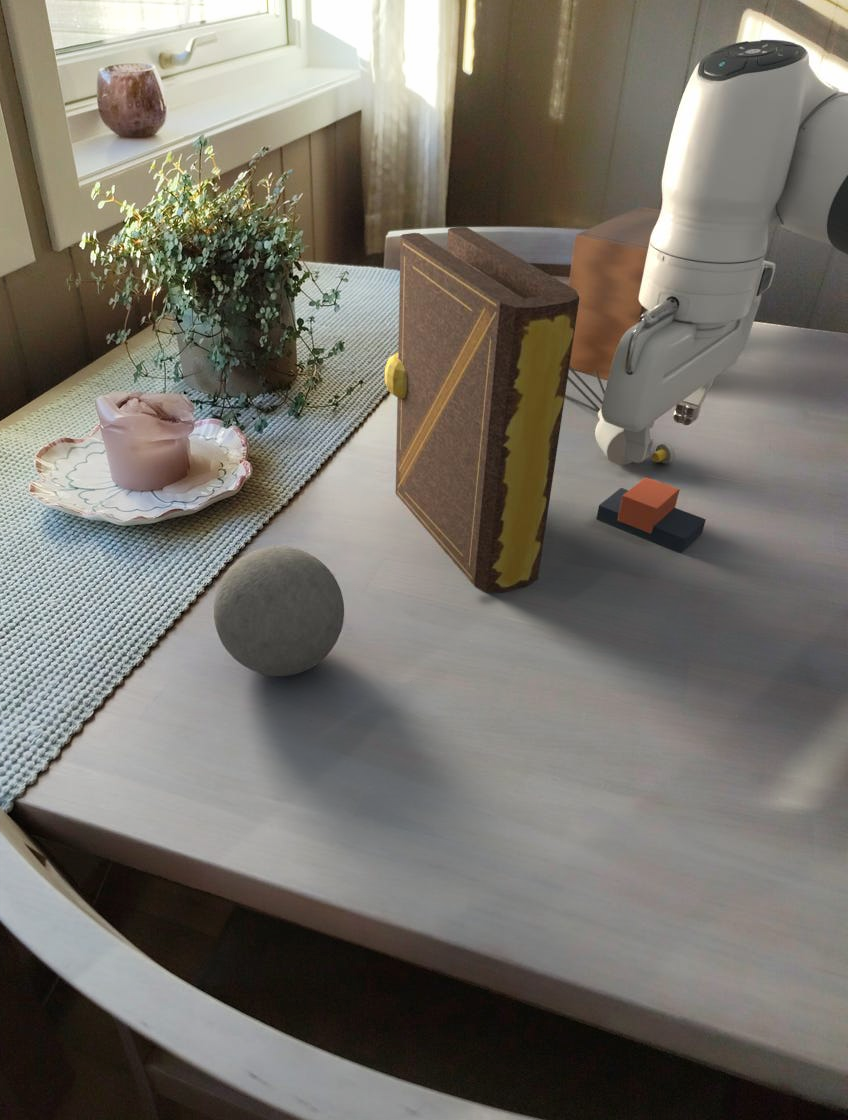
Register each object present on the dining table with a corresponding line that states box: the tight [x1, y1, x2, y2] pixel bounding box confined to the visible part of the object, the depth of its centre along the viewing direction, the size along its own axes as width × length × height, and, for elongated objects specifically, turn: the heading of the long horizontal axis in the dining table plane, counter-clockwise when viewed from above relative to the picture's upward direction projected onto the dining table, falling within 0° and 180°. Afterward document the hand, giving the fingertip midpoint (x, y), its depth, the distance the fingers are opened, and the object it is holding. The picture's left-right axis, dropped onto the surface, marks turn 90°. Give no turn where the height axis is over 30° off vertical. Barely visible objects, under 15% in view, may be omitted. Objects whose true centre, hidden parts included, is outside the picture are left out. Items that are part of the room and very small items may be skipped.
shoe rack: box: [568, 205, 661, 381], centre depth 113 cm, size 10×16×16 cm, turn 139°
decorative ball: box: [213, 545, 345, 677], centre depth 69 cm, size 10×10×10 cm
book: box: [384, 226, 580, 593], centre depth 79 cm, size 22×8×25 cm, turn 23°
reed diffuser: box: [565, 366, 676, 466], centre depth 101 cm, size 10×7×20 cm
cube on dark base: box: [596, 476, 706, 554], centre depth 86 cm, size 9×5×4 cm, turn 49°
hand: (661, 439), depth 81 cm, fingers open, 8 cm apart
